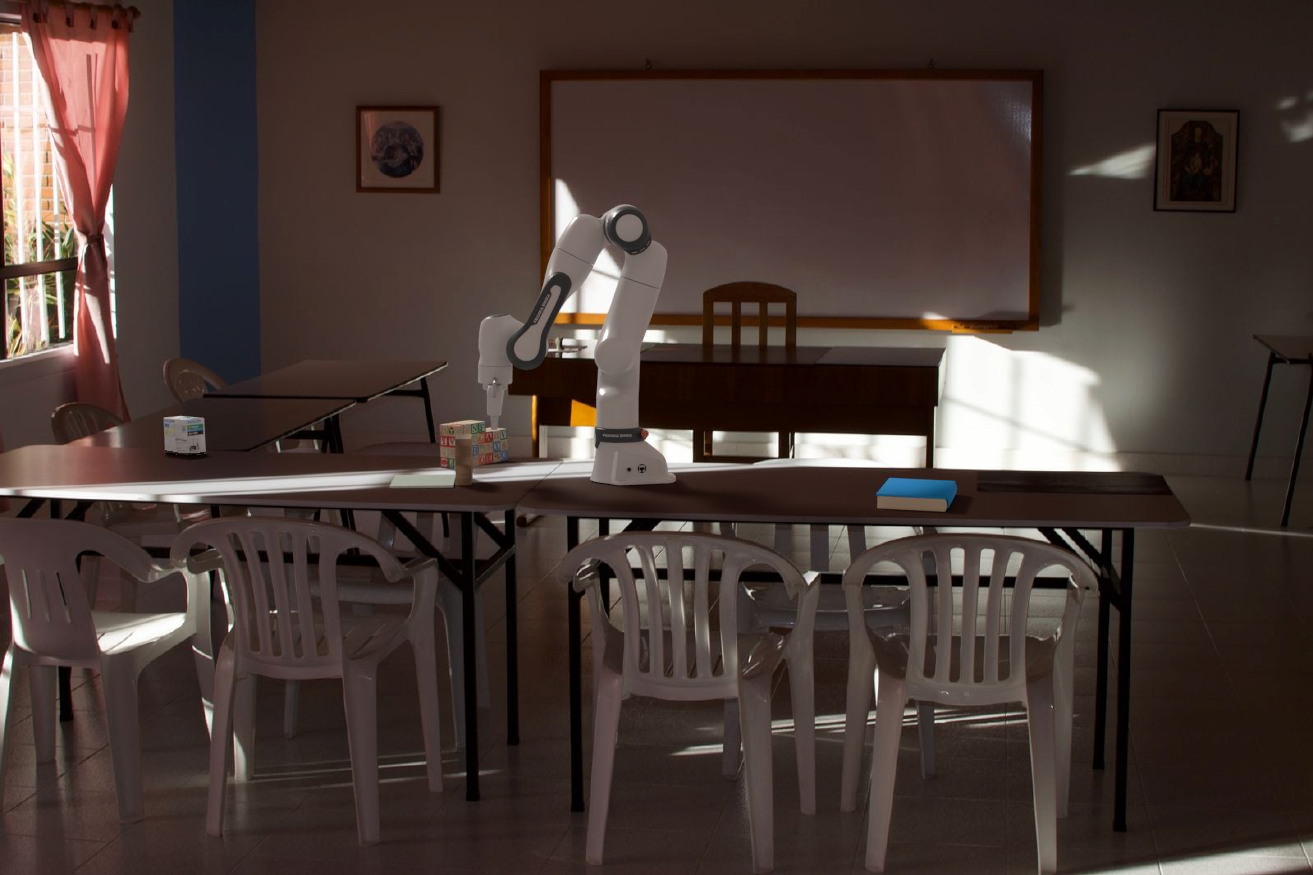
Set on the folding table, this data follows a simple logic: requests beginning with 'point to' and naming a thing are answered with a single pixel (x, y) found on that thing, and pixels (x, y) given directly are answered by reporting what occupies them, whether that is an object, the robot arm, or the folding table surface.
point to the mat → (423, 481)
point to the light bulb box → (184, 434)
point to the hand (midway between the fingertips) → (494, 429)
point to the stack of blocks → (473, 443)
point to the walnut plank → (463, 459)
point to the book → (916, 494)
